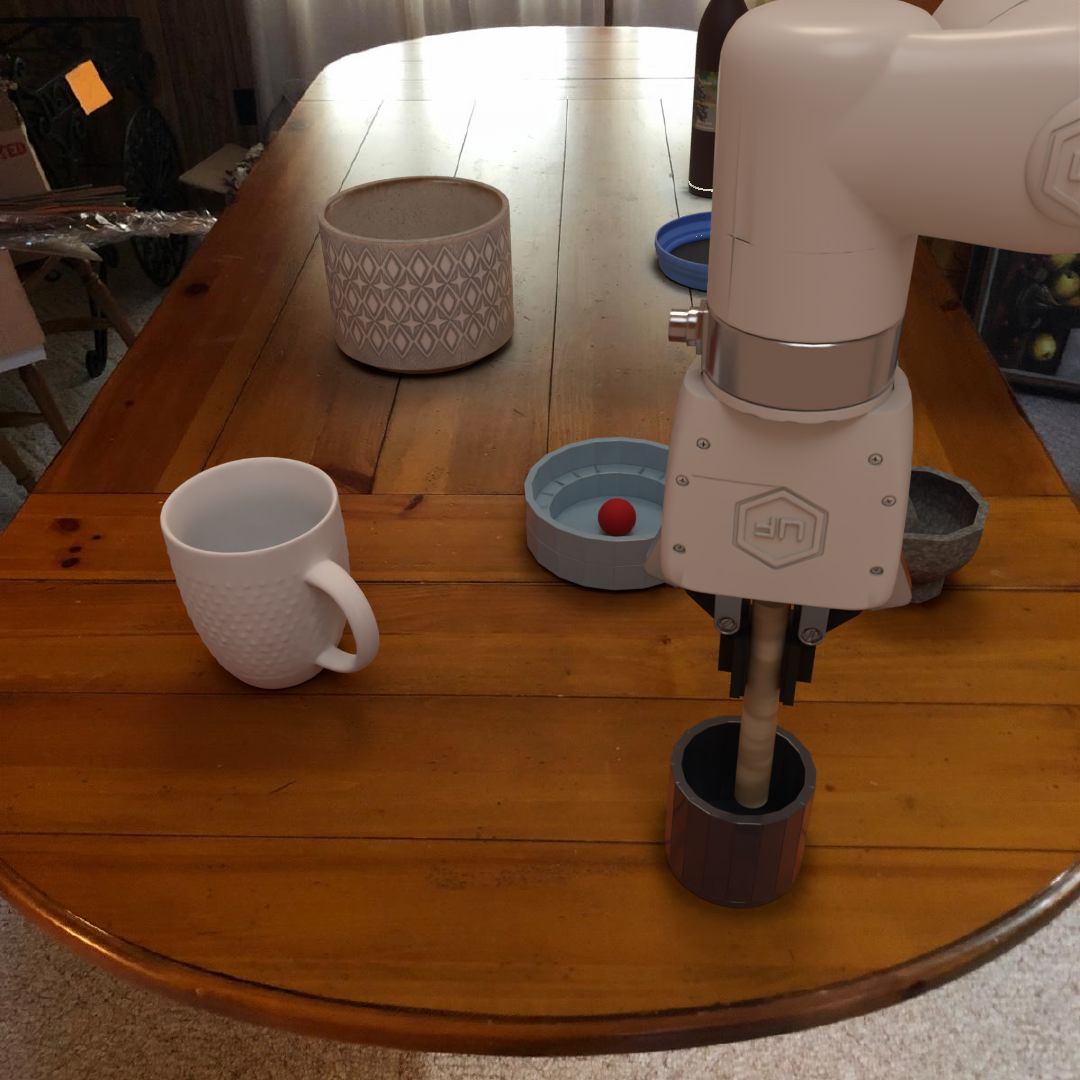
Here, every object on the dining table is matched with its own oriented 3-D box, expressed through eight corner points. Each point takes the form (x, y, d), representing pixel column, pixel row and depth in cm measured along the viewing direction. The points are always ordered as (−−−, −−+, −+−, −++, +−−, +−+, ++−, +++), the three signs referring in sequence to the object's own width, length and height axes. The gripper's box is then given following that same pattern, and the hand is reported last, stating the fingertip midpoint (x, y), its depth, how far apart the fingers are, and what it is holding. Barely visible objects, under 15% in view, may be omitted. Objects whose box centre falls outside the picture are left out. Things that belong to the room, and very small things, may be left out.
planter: (374, 400, 105) (355, 257, 97) (313, 327, 119) (292, 195, 110) (545, 356, 112) (542, 218, 103) (470, 291, 125) (461, 164, 117)
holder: (804, 809, 64) (819, 726, 60) (796, 921, 58) (812, 837, 54) (675, 787, 66) (681, 704, 62) (655, 893, 60) (660, 809, 56)
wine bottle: (678, 186, 152) (691, -58, 134) (721, 178, 154) (739, -63, 137) (705, 202, 147) (722, -50, 129) (749, 193, 149) (772, -55, 131)
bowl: (800, 238, 136) (804, 210, 134) (815, 299, 121) (819, 269, 119) (654, 236, 137) (655, 208, 135) (652, 296, 123) (653, 266, 121)
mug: (437, 664, 75) (421, 508, 68) (324, 764, 68) (291, 603, 60) (285, 587, 82) (254, 438, 75) (168, 671, 75) (120, 516, 68)
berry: (638, 524, 87) (639, 493, 85) (632, 546, 85) (633, 514, 83) (601, 519, 88) (602, 488, 86) (594, 541, 85) (594, 510, 84)
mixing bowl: (717, 499, 91) (721, 447, 88) (694, 607, 80) (698, 552, 77) (550, 479, 94) (549, 428, 91) (505, 581, 82) (503, 527, 80)
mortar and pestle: (992, 575, 82) (1031, 437, 75) (931, 637, 76) (966, 494, 69) (858, 517, 88) (883, 384, 81) (793, 570, 83) (813, 433, 76)
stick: (769, 785, 60) (793, 586, 52) (766, 811, 59) (791, 610, 50) (735, 780, 60) (754, 581, 52) (732, 805, 59) (751, 605, 51)
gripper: (585, 374, 42) (592, 713, 53) (1021, 408, 39) (932, 763, 50) (621, 294, 48) (620, 614, 59) (1002, 318, 45) (927, 653, 56)
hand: (763, 680), depth 54 cm, fingers closed on stick, 1 cm apart
